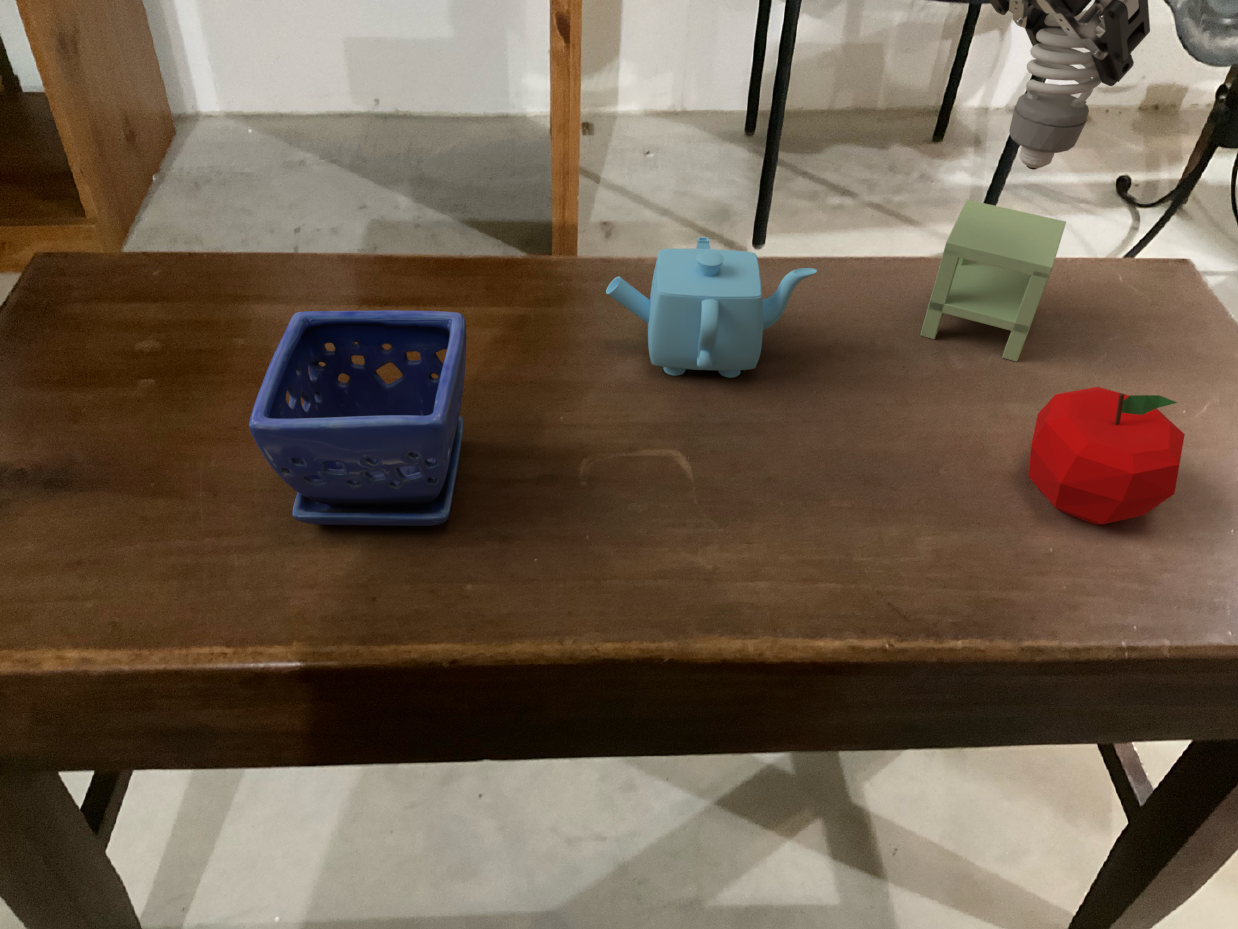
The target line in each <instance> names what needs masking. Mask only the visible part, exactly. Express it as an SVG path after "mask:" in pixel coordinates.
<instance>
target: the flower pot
mask: <svg viewBox="0 0 1238 929" xmlns="http://www.w3.org/2000/svg"><path fill="white" fill-rule="evenodd" d="M326 344H332V345H333V347H334V350H328V349H327V348H326ZM384 345H389V346H391V347H390V348H389V349H387V348H385V347H384ZM444 350H446V353H445V356H444V360H443V362H442V360H441V359H440V357H439V356H438V354H437V353H439V352H441V351H444ZM410 352H411V353H415V352H416V353H418V354H419V358H420V359H409V357H408V353H410ZM353 356H361V357H363V362H364V364H361V363H355V362H354V361H353V360H352V357H353ZM466 362H467V323H466V318H465V316H464V315H463V313H461V312H455V311H441V310H398V309H397V310H395V309H391V310H390V309H389V310H386V309H385V310H311V311H309V310H308V311H307V310H306V311H298V312H294V314H293V315H292V316H291V318H290V321H289V322H288V324H287V326H286V328H285V330H284V332H283V335H282V336H281V339H280V341H279V343H278V346H277V347H276V349H275V351H274V354H273V356H272V358H271V360H270V363H269V365H268V367H267V370H266V372H265V375H264V378H263V380H262V382H261V385H260V387H259V389H258V390H259V391H258V393H257V396H256V398H255V401H254V405H253V408H252V411H251V414H250V418H249V422H248V427H249V431H250V433H251V436H252V438H253V440H254V442H255V444H256V446H257V448H258V449H259V451H260V453H261V454H262V456H263V458H264V459H265V461H266V462H267V463H268V464H269V466H270V467H271V469H272V470H273V471H274V472H275V473H276V475H277V476H279V478H280V479H282V480H283V481H284V482H285V484H287V485H288V486H289V487H290V488H292V489H293V490H294V491H295V492H297V493H296V496H295V499H294V502H293V506H292V511H291V512H292V513H291V515H292V518H293V519H294V520H296V521H298V522H301V523H304V524H309V525H322V526H323V525H324V526H325V525H326V526H397V527H398V526H401V527H405V526H406V527H408V526H409V527H415V526H416V527H425V526H426V527H429V526H438V525H439V526H440V525H441V524H444V523H445V522H446V521H447V520H448V519H449V515H450V512H451V507H452V503H453V496H454V490H455V485H456V479H457V473H458V467H459V460H460V456H461V448H462V442H463V441H462V440H463V434H464V418H463V417H462V416H461V415H460V414H461V409H462V400H463V393H464V386H465V377H466V376H465V375H466ZM320 363H323V364H324V365H321V364H320ZM390 363H391V364H392V365H394V367H395V368H396V369H397V370H398V371H399V372H400V373H401V374H402V375H401V377H399V378H396V380H394V381H392V382H390V383H387V382H386V381H385V379H383V378H382V376H380V374H379V373H378V372H377V371H378V370H379V369H381V368H382V367H383V366H386V365H387V364H390ZM341 374H344V375H346V376H347V377H349V378H348V380H347V382H343V381H340V380H339V377H340V375H341ZM433 374H434V375H437V378H435V377H433V376H432V375H433ZM287 394H288V397H289V401H287ZM302 400H303V404H302Z"/></svg>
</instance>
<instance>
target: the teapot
mask: <svg viewBox="0 0 1238 929" xmlns="http://www.w3.org/2000/svg"><path fill="white" fill-rule="evenodd" d="M695 247H696V248H663V249H660V250H659V251H658V254H657V257H656V262H655V266H654V270H653V275H652V281H651V286H650V296H649V298H648V297H646V296H645V295H644V294H643V293H641V292H640V291H638V289H636V288H635V287H633V285H631V284H630V283H629V282H627V281H626V280H625V279H623V277H621V276H616V277H614V278H613V280H611V282H610V283H609V284H608V286H607V288H606V290H605V292H606V293H605V294H606V295H607V296H609V297H610V298H612V299H613V300H615V301H616V302H617V303H619V305H621V306H623V307H624V308H625V309H627V310H628V311H630V312H631V313H633V314H634V315H635V316H636V317H637V318H638V319H640V320H642V321H643V322H645V323H647V344H648V345H647V346H648V353H649V359H650V363H651V365H653V366H655V367H660V368H661V367H662V368H663V371H664V372H665V373H666V374H667V375H670V376H681V375H683V374H684V373H685V372H686V370H694V371H695V370H696V371H717V372H718V373H719V374H720V375H721V376H722V377H724V378H731V379H732V378H736V377H738V376H740V374H741V371H746V370H747V371H748V370H753V369H756V367H757V365H758V362H759V360H760V356H761V353H762V346H763V336H764V334H763V333H764V331H765V330H767V329H770V328H771V327H772V326H774V325H775V324H777V322H778V321H779V320H780V319H781V318H782V316H783V314H784V312H785V310H786V308H787V306H788V303H789V300H790V298H791V295H792V294H793V292H794V290H795V288H796V287H797V285H798V284H799V283H800V282H802V280H804V279H806V278H808V277H810V276H813V275H815V274H816V273H817V272H818V269H816V268H811V267H802V268H796V269H793V270H791V271H790V272H788V273H786V275H784V277H783V278H782V280H781V281H780V283H779V284H778V287H777V289H776V290H775V291H774V293H772V294H771V295H770V296H768V297H766V298H763V288H762V280H761V271H760V264H759V259H758V256H757V254H756V253H755V252H752V251H745V250H734V249H719V248H718V249H717V248H716V249H715V248H711V246H710V239H709V236H708V237H707V236H697V240H696V246H695Z"/></svg>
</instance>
